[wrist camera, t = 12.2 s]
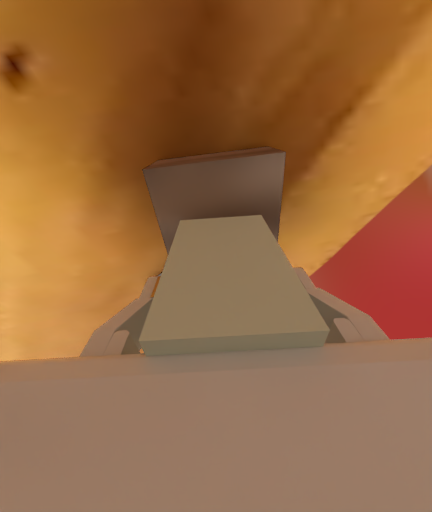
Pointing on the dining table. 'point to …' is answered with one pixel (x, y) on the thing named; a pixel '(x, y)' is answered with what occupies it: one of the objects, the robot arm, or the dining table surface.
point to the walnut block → (217, 187)
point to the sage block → (229, 293)
